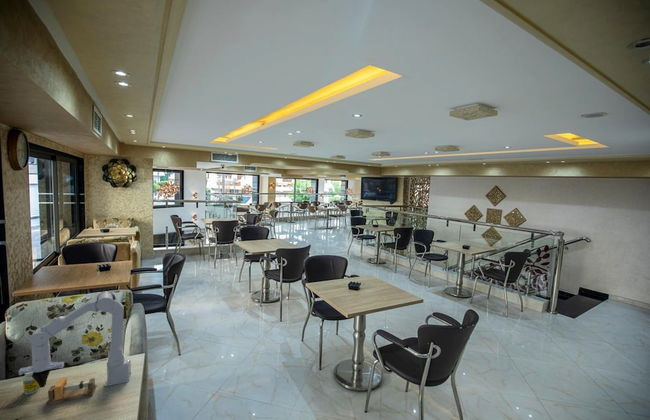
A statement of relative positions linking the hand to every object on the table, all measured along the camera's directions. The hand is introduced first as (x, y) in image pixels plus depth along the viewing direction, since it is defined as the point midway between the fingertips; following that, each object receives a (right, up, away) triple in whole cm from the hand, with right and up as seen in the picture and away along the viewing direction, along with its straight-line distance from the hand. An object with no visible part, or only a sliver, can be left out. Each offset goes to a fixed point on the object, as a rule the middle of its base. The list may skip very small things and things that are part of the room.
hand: (42, 385), depth 131 cm
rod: (+9, -4, +4) cm, 11 cm away
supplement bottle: (-11, -6, +6) cm, 14 cm away
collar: (+5, -6, +3) cm, 8 cm away
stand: (+9, -7, +5) cm, 12 cm away
